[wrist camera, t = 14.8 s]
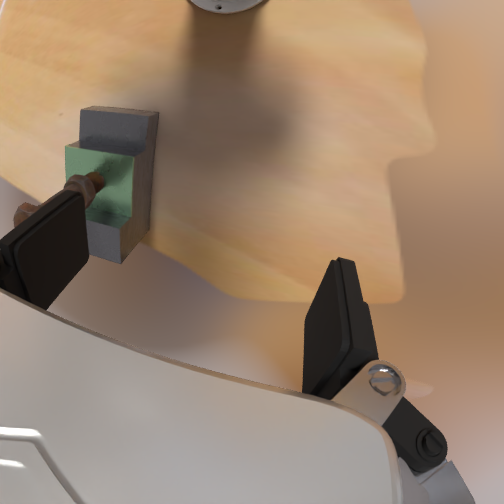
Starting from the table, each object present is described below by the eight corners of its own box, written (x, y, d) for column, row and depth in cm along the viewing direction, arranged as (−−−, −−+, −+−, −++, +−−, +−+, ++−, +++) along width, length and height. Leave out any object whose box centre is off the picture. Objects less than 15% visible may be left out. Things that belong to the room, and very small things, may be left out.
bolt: (117, 193, 40) (51, 250, 27) (92, 202, 41) (28, 257, 28) (102, 156, 37) (27, 202, 24) (78, 167, 38) (6, 213, 26)
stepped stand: (92, 105, 40) (48, 119, 31) (159, 112, 40) (122, 125, 31) (91, 214, 51) (57, 243, 42) (149, 229, 51) (120, 264, 42)
